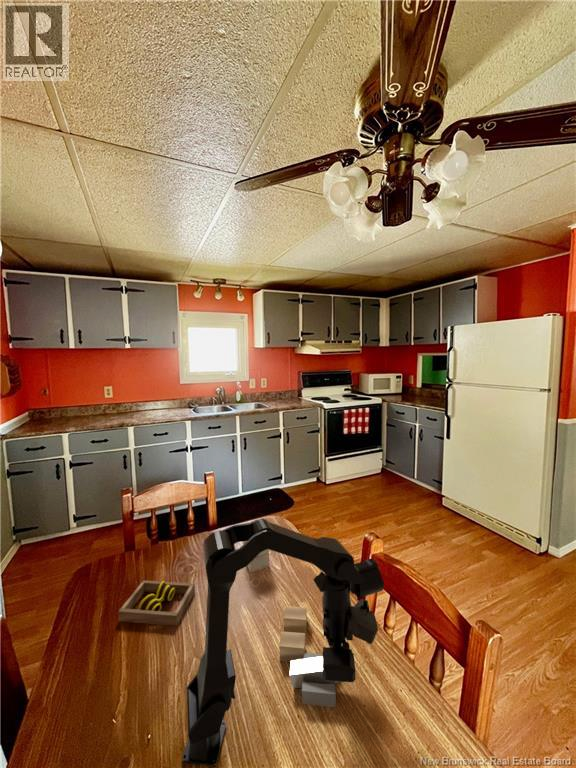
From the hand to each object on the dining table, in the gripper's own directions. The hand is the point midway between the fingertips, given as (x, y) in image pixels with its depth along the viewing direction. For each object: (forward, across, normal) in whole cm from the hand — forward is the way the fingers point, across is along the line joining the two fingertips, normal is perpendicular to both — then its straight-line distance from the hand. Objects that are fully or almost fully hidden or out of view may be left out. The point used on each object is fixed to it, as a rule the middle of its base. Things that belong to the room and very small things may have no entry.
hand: (337, 667), depth 67 cm
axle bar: (+3, 0, +3) cm, 4 cm away
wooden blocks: (+5, +10, +10) cm, 16 cm away
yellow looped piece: (+4, +17, +52) cm, 55 cm away
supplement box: (+5, +38, +27) cm, 47 cm away
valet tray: (+4, +18, +52) cm, 55 cm away
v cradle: (+5, 0, +4) cm, 6 cm away
